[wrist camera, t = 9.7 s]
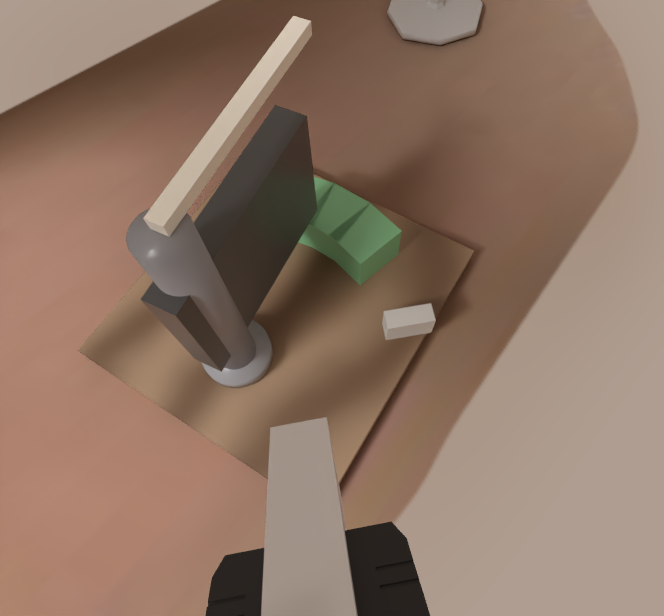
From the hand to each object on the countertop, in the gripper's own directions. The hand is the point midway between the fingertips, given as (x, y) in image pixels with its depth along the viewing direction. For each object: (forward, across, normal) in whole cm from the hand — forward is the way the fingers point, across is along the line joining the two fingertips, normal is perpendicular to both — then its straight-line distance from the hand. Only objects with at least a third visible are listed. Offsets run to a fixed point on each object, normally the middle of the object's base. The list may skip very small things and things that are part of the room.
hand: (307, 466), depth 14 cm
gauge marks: (+23, +4, -1) cm, 23 cm away
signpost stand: (+22, -2, -1) cm, 22 cm away
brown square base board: (+22, -1, -3) cm, 23 cm away
